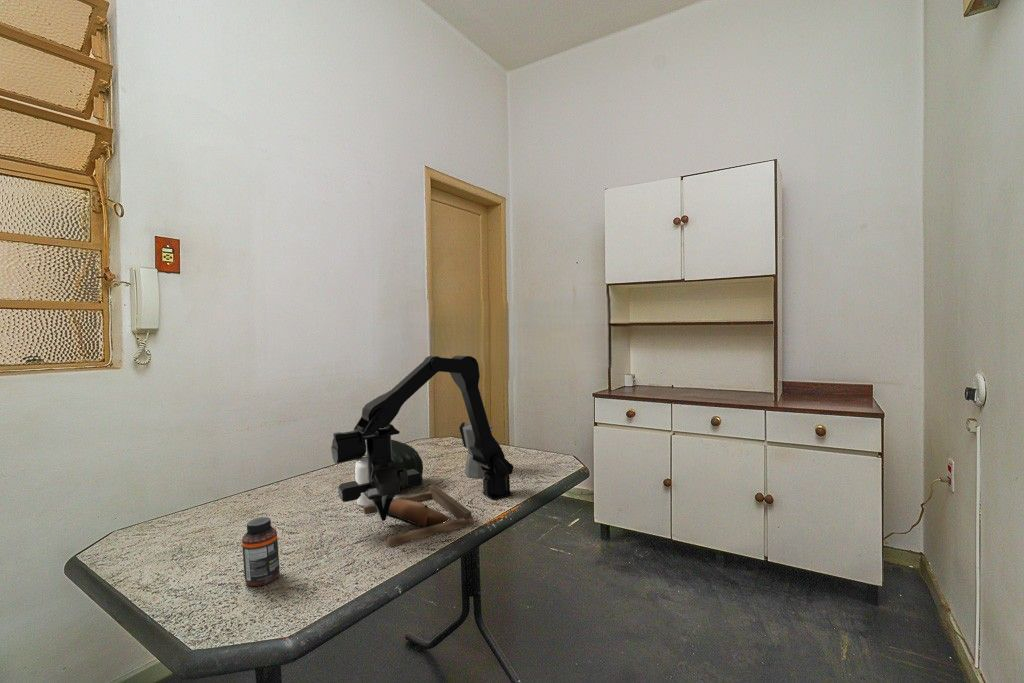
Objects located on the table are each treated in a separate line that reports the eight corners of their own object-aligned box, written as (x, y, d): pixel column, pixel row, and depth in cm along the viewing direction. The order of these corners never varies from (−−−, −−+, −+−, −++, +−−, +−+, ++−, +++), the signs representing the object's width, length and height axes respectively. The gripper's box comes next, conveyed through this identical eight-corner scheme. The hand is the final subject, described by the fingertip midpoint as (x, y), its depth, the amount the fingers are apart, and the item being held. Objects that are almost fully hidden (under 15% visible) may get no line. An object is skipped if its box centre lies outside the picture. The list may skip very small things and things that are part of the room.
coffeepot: (504, 474, 149) (502, 417, 148) (481, 482, 142) (479, 422, 142) (473, 465, 160) (470, 412, 159) (450, 472, 153) (448, 416, 153)
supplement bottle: (253, 572, 93) (250, 515, 93) (284, 569, 94) (281, 513, 93) (238, 589, 87) (234, 528, 87) (272, 586, 88) (268, 525, 87)
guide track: (436, 495, 132) (436, 484, 132) (473, 523, 112) (473, 511, 111) (363, 511, 122) (362, 500, 122) (389, 546, 102) (388, 533, 101)
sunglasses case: (454, 518, 115) (442, 499, 112) (436, 542, 111) (423, 523, 108) (408, 503, 127) (396, 485, 124) (389, 524, 122) (377, 506, 119)
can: (374, 507, 125) (372, 462, 125) (352, 506, 126) (349, 461, 126) (386, 498, 131) (383, 455, 131) (364, 497, 133) (362, 455, 132)
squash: (433, 471, 137) (416, 427, 144) (382, 484, 128) (367, 437, 136) (421, 493, 146) (406, 451, 154) (373, 507, 138) (359, 462, 145)
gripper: (345, 471, 101) (350, 543, 101) (429, 455, 110) (432, 521, 111) (335, 459, 110) (340, 525, 111) (413, 445, 120) (417, 507, 120)
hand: (383, 520), depth 113 cm, fingers closed
